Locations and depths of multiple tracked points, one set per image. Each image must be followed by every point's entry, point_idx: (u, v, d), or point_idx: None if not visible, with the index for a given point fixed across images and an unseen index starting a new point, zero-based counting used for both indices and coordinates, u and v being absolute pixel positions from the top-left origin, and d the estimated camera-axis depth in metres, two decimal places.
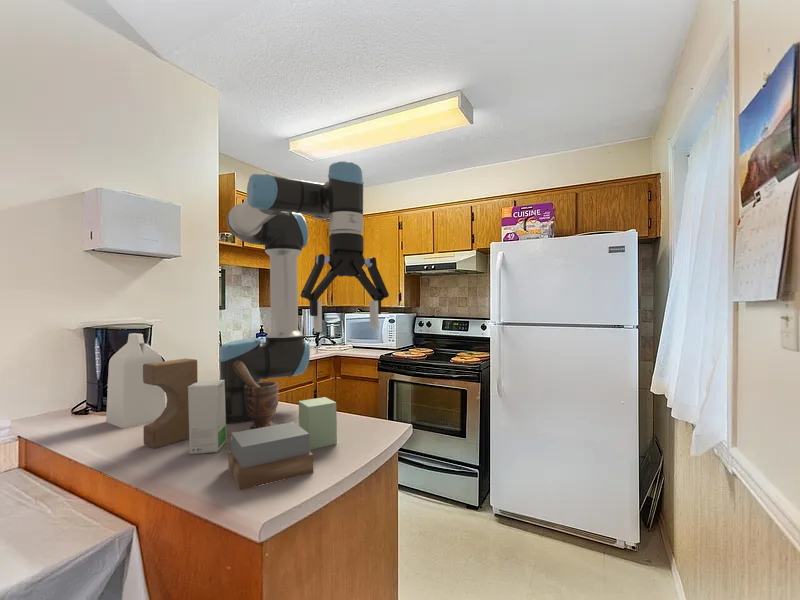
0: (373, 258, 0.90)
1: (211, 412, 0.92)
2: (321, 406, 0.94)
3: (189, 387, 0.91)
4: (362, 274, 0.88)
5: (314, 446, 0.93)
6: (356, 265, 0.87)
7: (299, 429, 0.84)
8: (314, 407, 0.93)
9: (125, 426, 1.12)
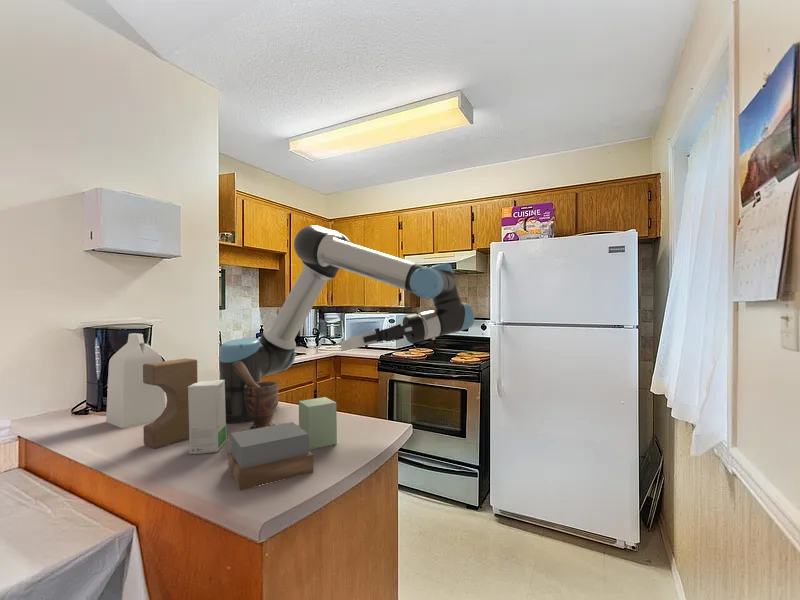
0: None
1: (211, 412, 0.91)
2: (321, 406, 0.94)
3: (189, 387, 0.91)
4: None
5: (314, 446, 0.93)
6: None
7: (298, 429, 0.84)
8: (314, 407, 0.93)
9: (125, 426, 1.12)
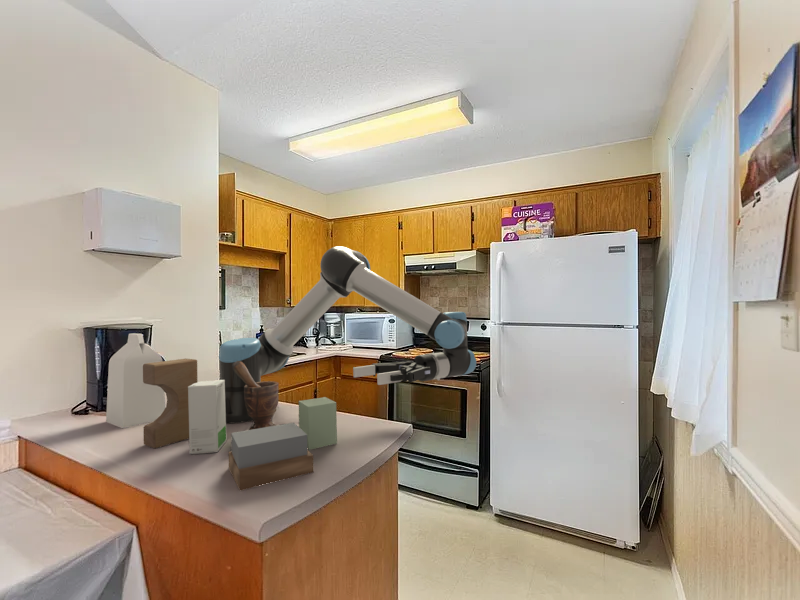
0: None
1: (211, 412, 0.92)
2: (321, 406, 0.94)
3: (189, 387, 0.91)
4: None
5: (314, 446, 0.93)
6: None
7: (298, 430, 0.83)
8: (314, 407, 0.93)
9: (125, 426, 1.12)
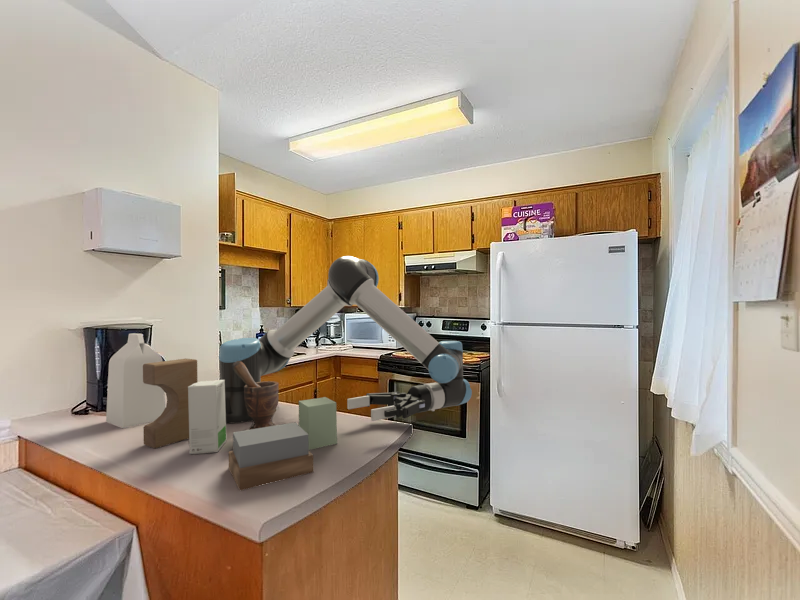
0: None
1: (211, 412, 0.91)
2: (321, 406, 0.94)
3: (189, 387, 0.91)
4: (393, 406, 1.12)
5: (314, 446, 0.93)
6: None
7: (299, 429, 0.83)
8: (314, 407, 0.93)
9: (125, 426, 1.12)
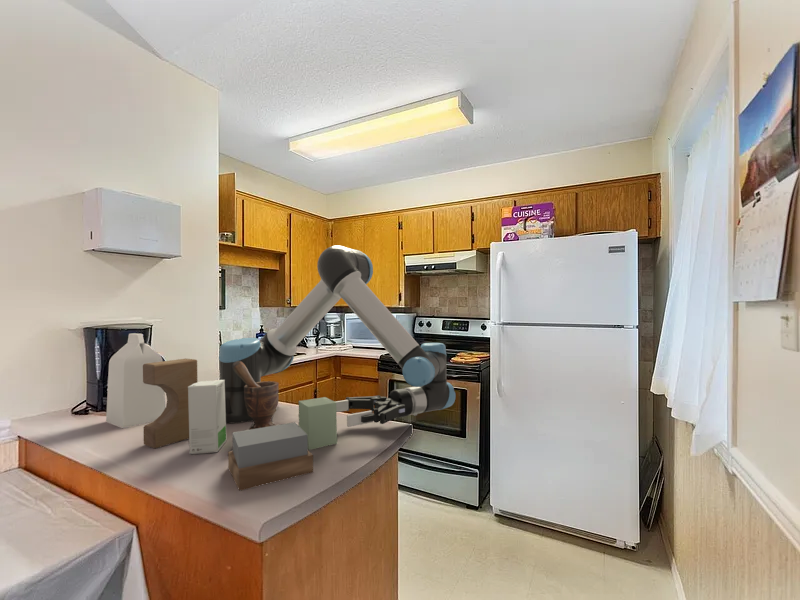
0: None
1: (211, 412, 0.91)
2: (321, 406, 0.94)
3: (189, 387, 0.91)
4: (373, 410, 1.08)
5: (314, 446, 0.93)
6: None
7: (298, 429, 0.83)
8: (314, 407, 0.93)
9: (125, 426, 1.12)
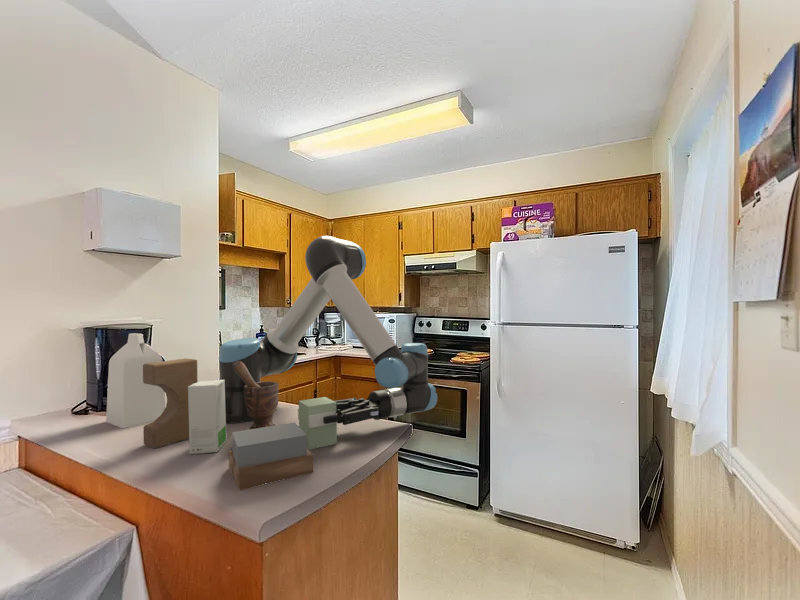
0: None
1: (211, 412, 0.91)
2: (321, 406, 0.94)
3: (189, 387, 0.91)
4: None
5: (314, 446, 0.93)
6: None
7: (298, 430, 0.83)
8: (314, 407, 0.93)
9: (125, 426, 1.12)
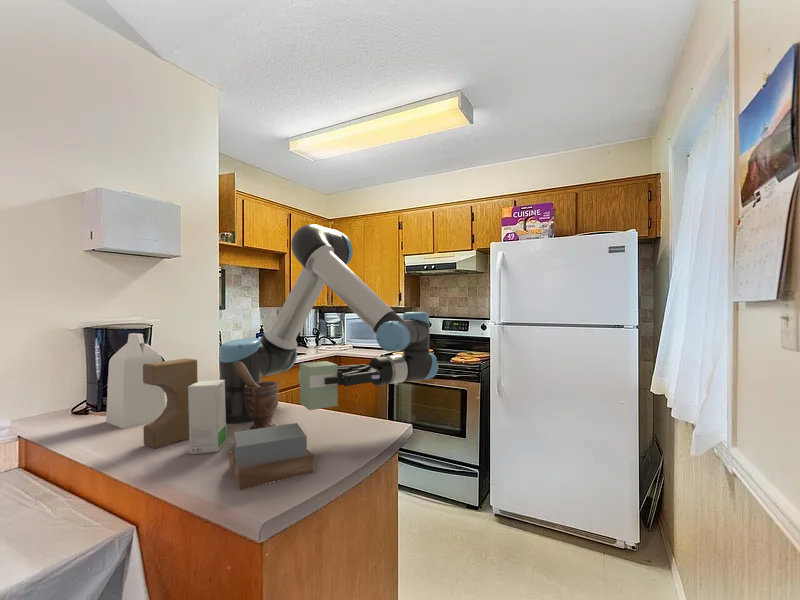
0: None
1: (211, 412, 0.92)
2: (322, 367, 0.94)
3: (189, 387, 0.91)
4: None
5: (315, 407, 0.93)
6: None
7: (299, 430, 0.83)
8: (315, 368, 0.93)
9: (125, 426, 1.12)
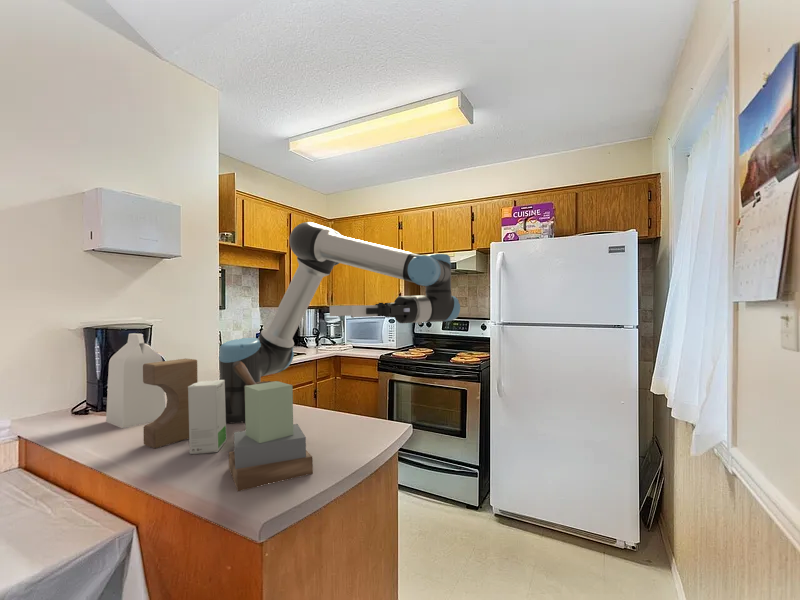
0: None
1: (211, 412, 0.92)
2: (274, 390, 0.78)
3: (189, 387, 0.91)
4: None
5: (266, 438, 0.77)
6: None
7: (298, 431, 0.82)
8: (266, 391, 0.77)
9: (125, 426, 1.12)
